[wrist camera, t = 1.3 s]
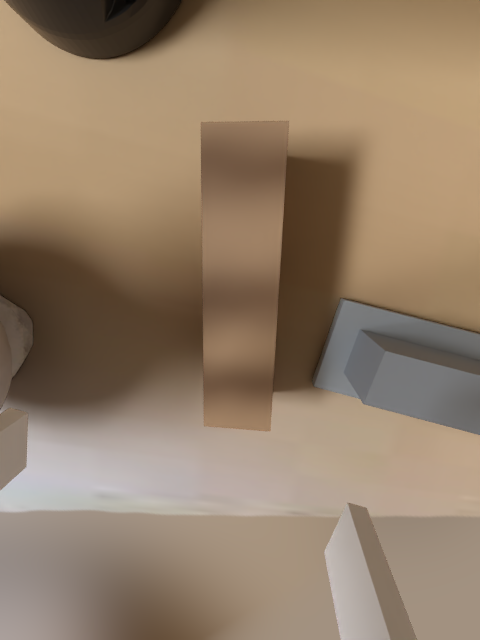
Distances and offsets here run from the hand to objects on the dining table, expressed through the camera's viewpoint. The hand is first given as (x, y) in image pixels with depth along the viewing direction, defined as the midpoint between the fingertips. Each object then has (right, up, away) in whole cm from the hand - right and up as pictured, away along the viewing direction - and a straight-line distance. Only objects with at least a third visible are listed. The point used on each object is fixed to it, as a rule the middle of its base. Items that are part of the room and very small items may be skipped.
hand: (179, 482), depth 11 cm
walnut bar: (+3, +10, +13) cm, 16 cm away
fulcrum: (+17, +3, +13) cm, 21 cm away
